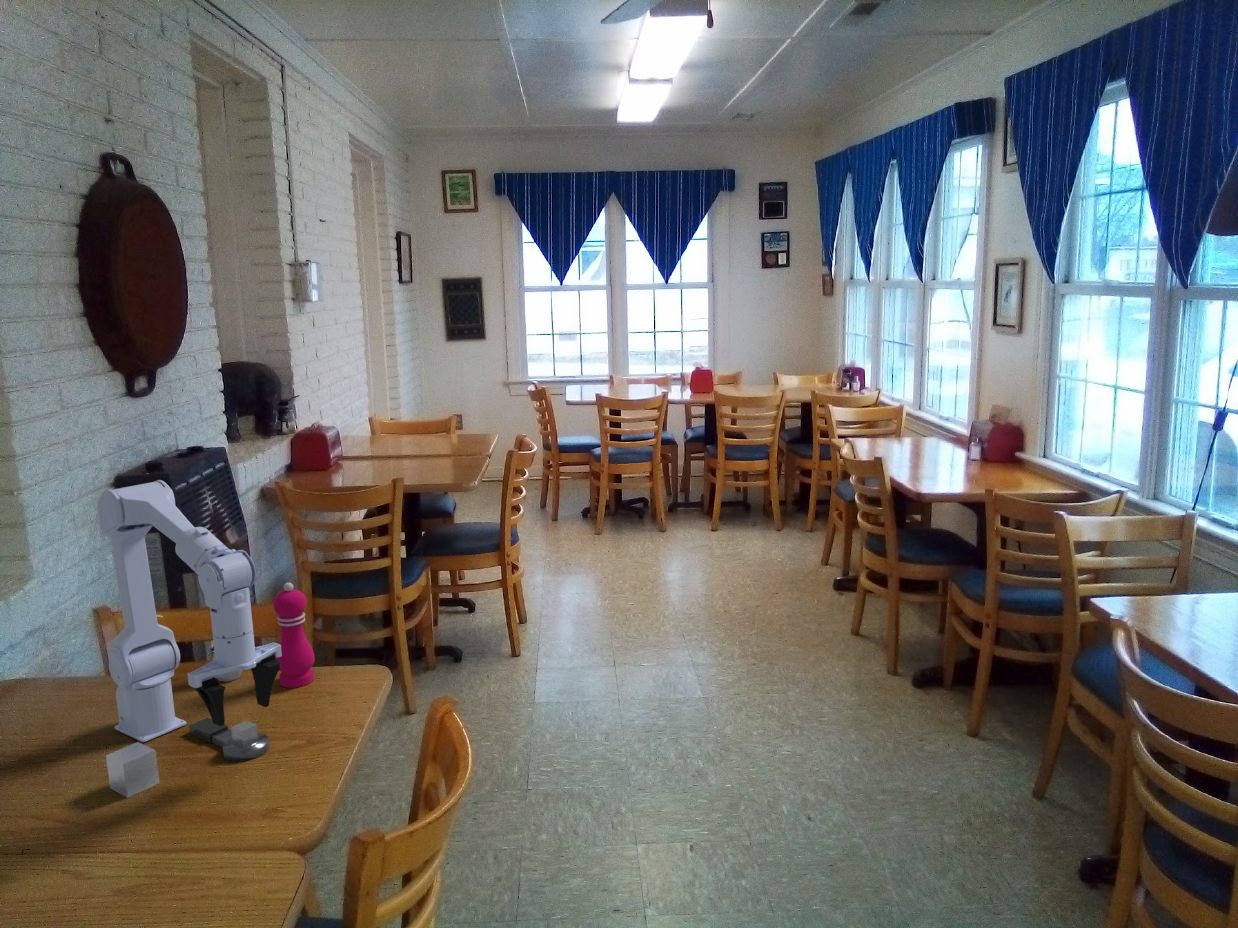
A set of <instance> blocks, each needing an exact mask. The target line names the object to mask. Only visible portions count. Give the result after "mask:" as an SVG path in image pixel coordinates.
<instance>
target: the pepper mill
mask: <svg viewBox="0 0 1238 928" xmlns="http://www.w3.org/2000/svg"><path fill="white" fill-rule="evenodd" d="M272 603H273V604H272V606H273V607H272V608H273V610H274V612H275V613H276V614H277V615H278V616H277V618H276V619H277V625H279V626H280V630H281V632H280V633H281V639H280V643H279V644H280V645H281V653H282V656H281V657H278V658H275V659H276V660H278V661H280V664H281V668H280V669H279V671H278V672H280V673H279V676H278V677H279V678H278V679H279V684H280V686H281V687H284V688H289V689H291V688H293V689H294V688H301V687H304V686H306V685H307V686H308V685H309V684H310V683H312V682H313V681H314V679H315V677H314V676H315V675H314V669H313V668H312V666H313V665H314V663H315V661H316V658H315V657H316V656H315V653H314V650H313V647H312V645H311V643H309V641H308V638H307V637H306V634H305V630H304V623H305V621H306V618H305V616H306V613H305V612H304V611H305V609H306V607H307V598H306V596H305V594H304V593H303V592H302V591H301V590H298V589H294V585H293V583H291V582H286V583H284V585H283V590H281V591H280V592H278V593H277V594H276V595H275V597H274V599H273V602H272Z"/></svg>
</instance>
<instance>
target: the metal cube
mask: <svg viewBox="0 0 1238 928" xmlns="http://www.w3.org/2000/svg"><path fill="white" fill-rule="evenodd" d="M105 759H106V760H105V761H106V767H107V775H108V781H109V783H108V784H109V789H111V790H112V791H114V792H116V793H118V794H120V795H122V796H123V797H125V798H127V799H128V798H130V797H133V796H134V795H137V794H139V793H141V792H143V791H146V790H148V789H150V788H152V787H153V786H156V785H158V784H160V775H159V768H158V760H157V759H158V758H157V751H156V749H154V748H152V747H149V746H147V745H146V744H143V743H142V742H140V741H137V742H134V743H132V744H129V745H127V746H125V747H122V748H120V749H118V750H116V751H114V752H111V753H108V754H106V755H105Z"/></svg>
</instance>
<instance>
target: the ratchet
mask: <svg viewBox="0 0 1238 928" xmlns="http://www.w3.org/2000/svg"><path fill="white" fill-rule="evenodd" d="M188 727H189V733H190V735H191V736H194V737H196V738H199V739H200V740H203V741H206V742H207V743H209V744H211V743H212V744H214V745H215V746H218V747H221V748H222V752H223V758H224V759H225V760H227V761H231V762H245V761H250V760H251V761H252V760H253V759H256V758H259V757H261V756H263V755H264V754H265V753H267V752H268V750H269V748H270V741H269V737H268V735H267V734H265V733H262V732H258V725H257V724H256V723H253V722H251V721H249V720H245V721H242V722H240V723H238V724H235V725H232V726H231V727H230V728H231V729H229V726H228V725H226V724H224V725H222V726H218V725H216V724H214V723H213V721H212V718H211V717H205V718H203V719H200V720H199V721H196V722H194V723H191V724H189V726H188Z"/></svg>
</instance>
